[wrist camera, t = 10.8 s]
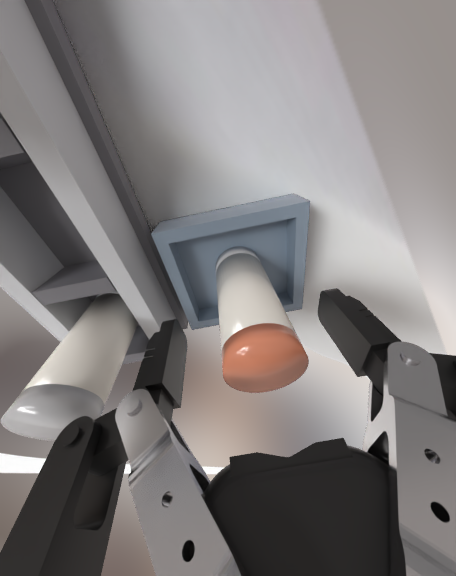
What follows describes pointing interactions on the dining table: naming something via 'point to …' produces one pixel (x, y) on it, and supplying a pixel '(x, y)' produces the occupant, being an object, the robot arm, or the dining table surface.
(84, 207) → the grey compartment rack
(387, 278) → the dining table surface
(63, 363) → the fuse
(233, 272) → the cylinder
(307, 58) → the dining table surface
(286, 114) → the dining table surface
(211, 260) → the tray
